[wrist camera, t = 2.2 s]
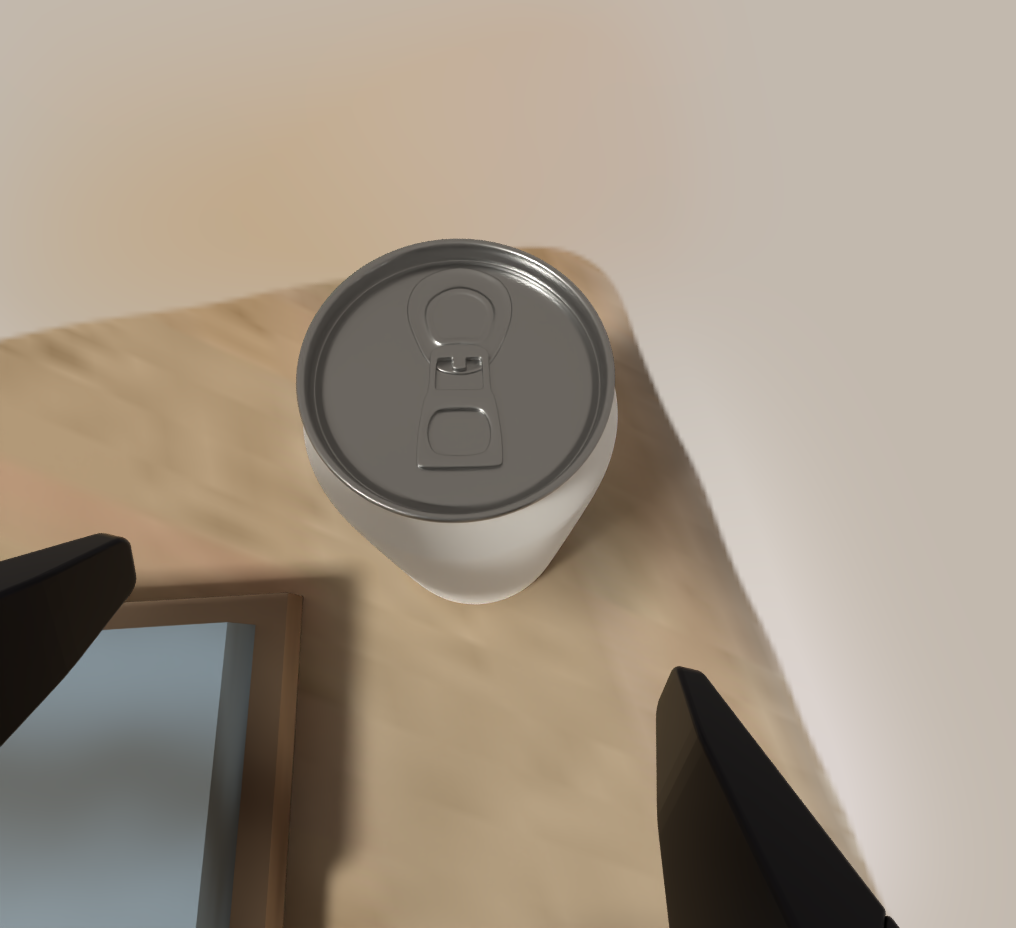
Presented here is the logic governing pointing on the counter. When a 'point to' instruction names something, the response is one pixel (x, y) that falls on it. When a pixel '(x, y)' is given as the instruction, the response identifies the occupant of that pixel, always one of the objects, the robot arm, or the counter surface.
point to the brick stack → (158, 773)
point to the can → (459, 411)
